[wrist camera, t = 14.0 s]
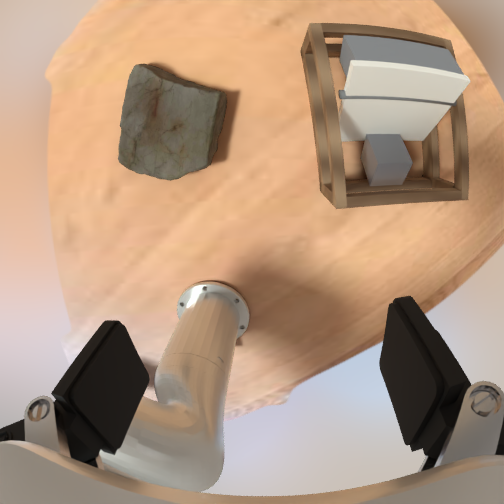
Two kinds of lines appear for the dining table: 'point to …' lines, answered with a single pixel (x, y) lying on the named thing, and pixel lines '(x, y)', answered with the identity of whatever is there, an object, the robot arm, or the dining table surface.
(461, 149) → the walnut hatch frame
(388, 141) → the basalt block
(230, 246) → the dining table surface
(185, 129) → the marble piece
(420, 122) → the hatch leaf
